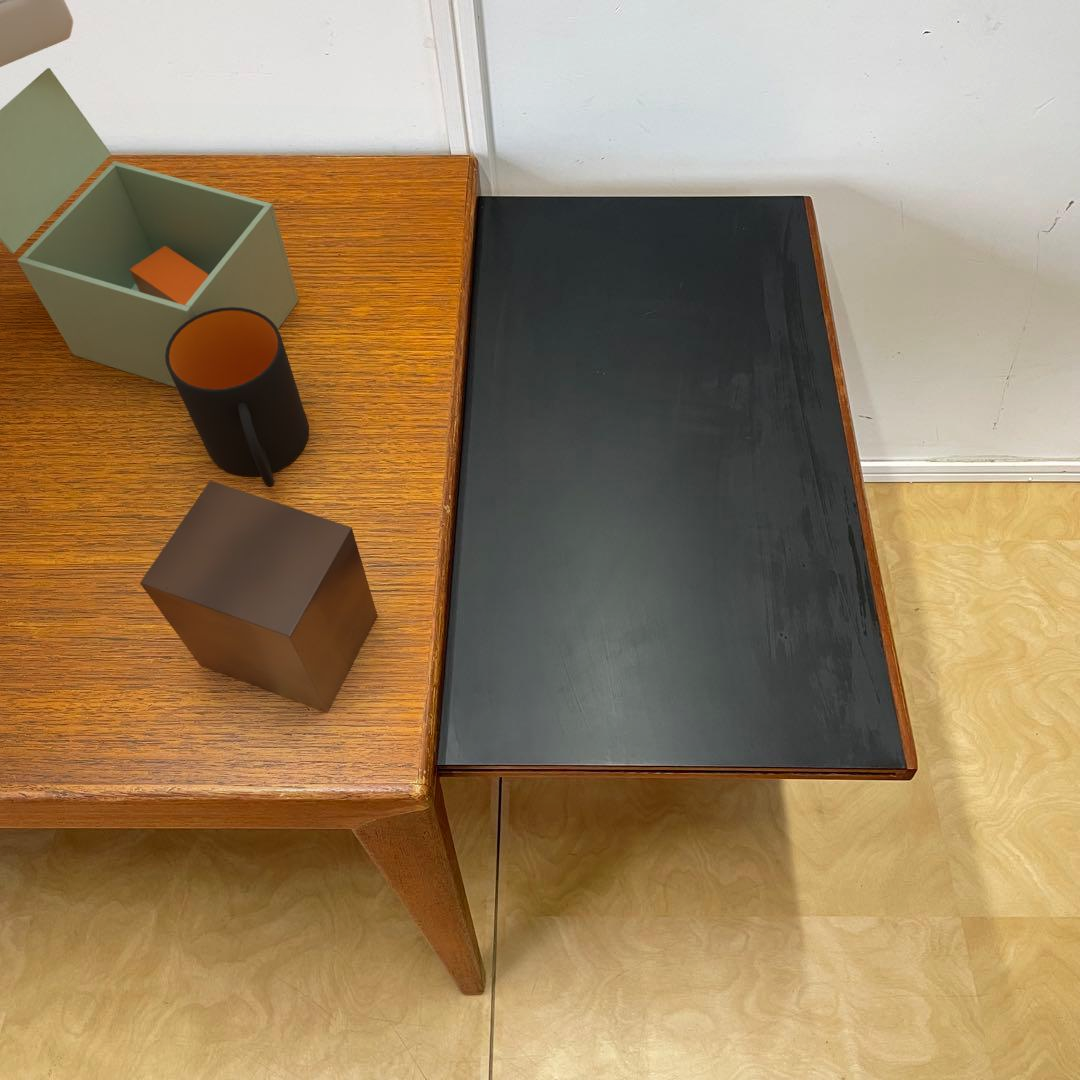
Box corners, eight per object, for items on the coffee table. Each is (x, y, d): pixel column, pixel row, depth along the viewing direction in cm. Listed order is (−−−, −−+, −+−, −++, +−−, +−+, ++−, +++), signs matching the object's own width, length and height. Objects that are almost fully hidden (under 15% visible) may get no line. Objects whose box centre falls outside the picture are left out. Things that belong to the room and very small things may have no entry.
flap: (13, 253, 70) (11, 253, 70) (111, 154, 76) (109, 154, 77) (-63, 166, 65) (-65, 167, 65) (49, 67, 71) (47, 68, 71)
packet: (189, 311, 78) (200, 336, 80) (225, 285, 79) (234, 310, 82) (128, 269, 80) (140, 295, 83) (165, 245, 82) (175, 271, 84)
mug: (226, 527, 71) (184, 444, 62) (198, 413, 76) (155, 323, 68) (332, 495, 72) (305, 411, 63) (296, 386, 78) (267, 295, 69)
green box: (73, 355, 79) (16, 260, 71) (156, 258, 86) (113, 160, 77) (225, 403, 77) (186, 311, 68) (299, 300, 83) (272, 203, 74)
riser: (199, 665, 65) (139, 582, 54) (256, 572, 69) (209, 479, 58) (327, 713, 63) (289, 637, 53) (378, 615, 67) (352, 527, 57)
